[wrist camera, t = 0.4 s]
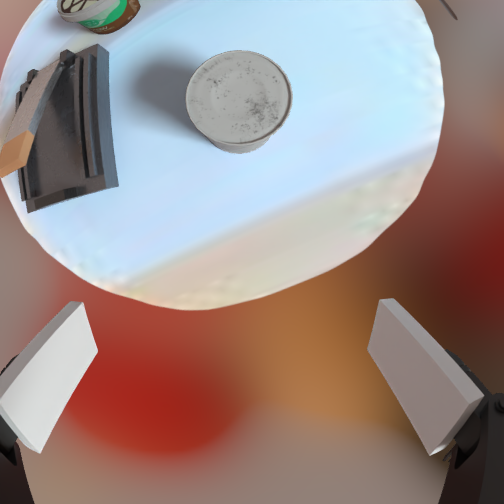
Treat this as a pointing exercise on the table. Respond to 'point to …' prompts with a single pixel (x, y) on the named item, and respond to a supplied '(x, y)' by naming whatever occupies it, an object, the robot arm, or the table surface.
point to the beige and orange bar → (28, 119)
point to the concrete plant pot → (239, 100)
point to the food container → (99, 13)
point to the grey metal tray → (71, 134)
